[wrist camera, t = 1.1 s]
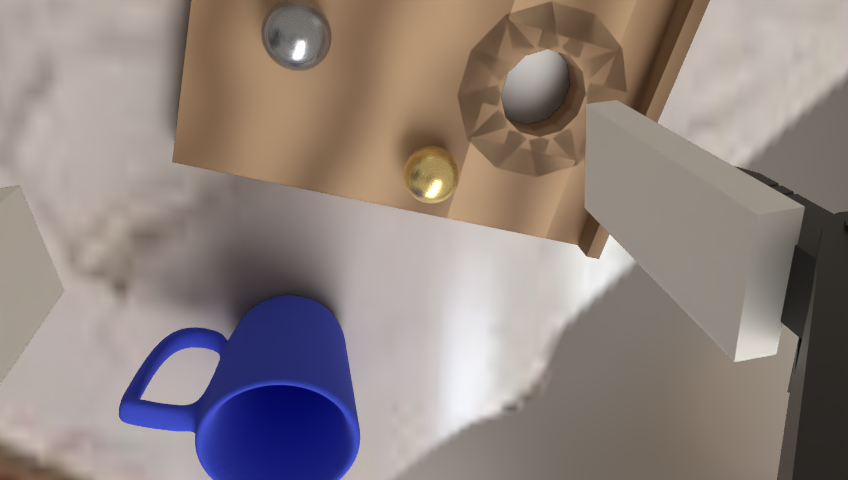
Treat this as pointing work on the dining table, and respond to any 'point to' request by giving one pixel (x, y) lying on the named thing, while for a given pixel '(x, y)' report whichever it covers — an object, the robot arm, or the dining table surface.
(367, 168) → the deck
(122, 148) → the dining table surface
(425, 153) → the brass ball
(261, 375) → the mug
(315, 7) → the steel ball
